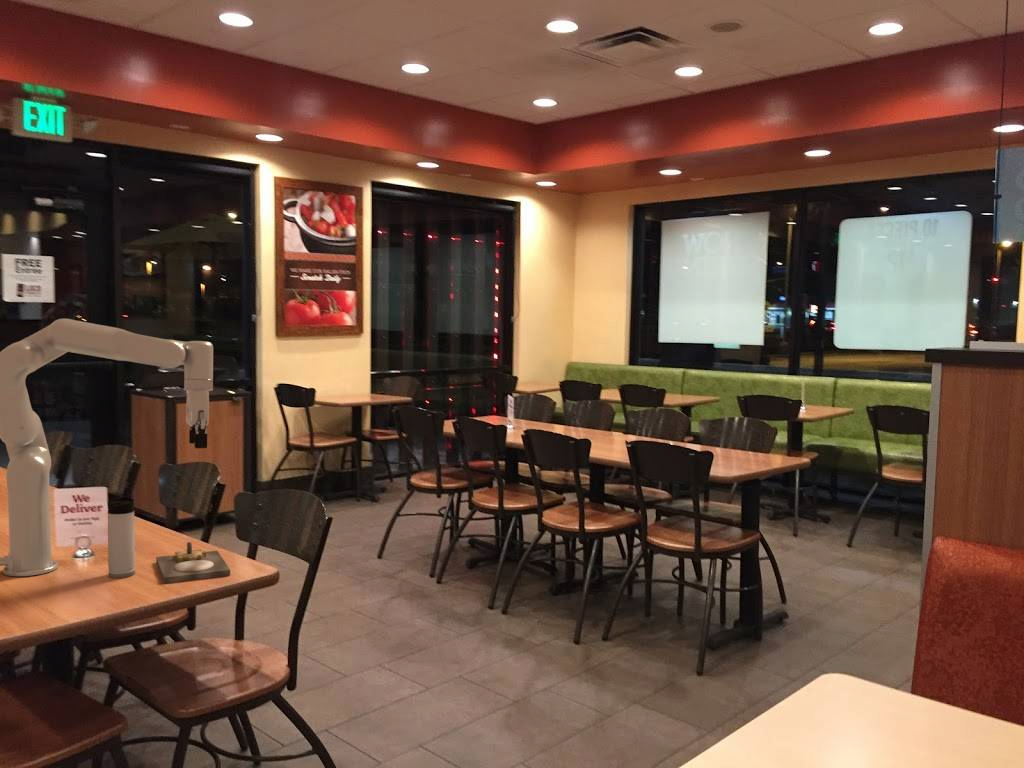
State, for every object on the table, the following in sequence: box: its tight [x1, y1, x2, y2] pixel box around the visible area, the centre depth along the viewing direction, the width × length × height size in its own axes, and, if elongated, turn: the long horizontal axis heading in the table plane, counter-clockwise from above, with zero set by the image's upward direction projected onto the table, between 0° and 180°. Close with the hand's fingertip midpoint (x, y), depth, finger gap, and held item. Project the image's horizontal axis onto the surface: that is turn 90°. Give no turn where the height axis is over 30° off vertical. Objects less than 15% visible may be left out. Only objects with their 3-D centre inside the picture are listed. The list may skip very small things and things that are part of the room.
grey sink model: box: [155, 541, 231, 584], centre depth 225 cm, size 16×20×6 cm
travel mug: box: [107, 496, 136, 579], centre depth 218 cm, size 6×7×20 cm
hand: (198, 445), depth 237 cm, fingers open, 9 cm apart
